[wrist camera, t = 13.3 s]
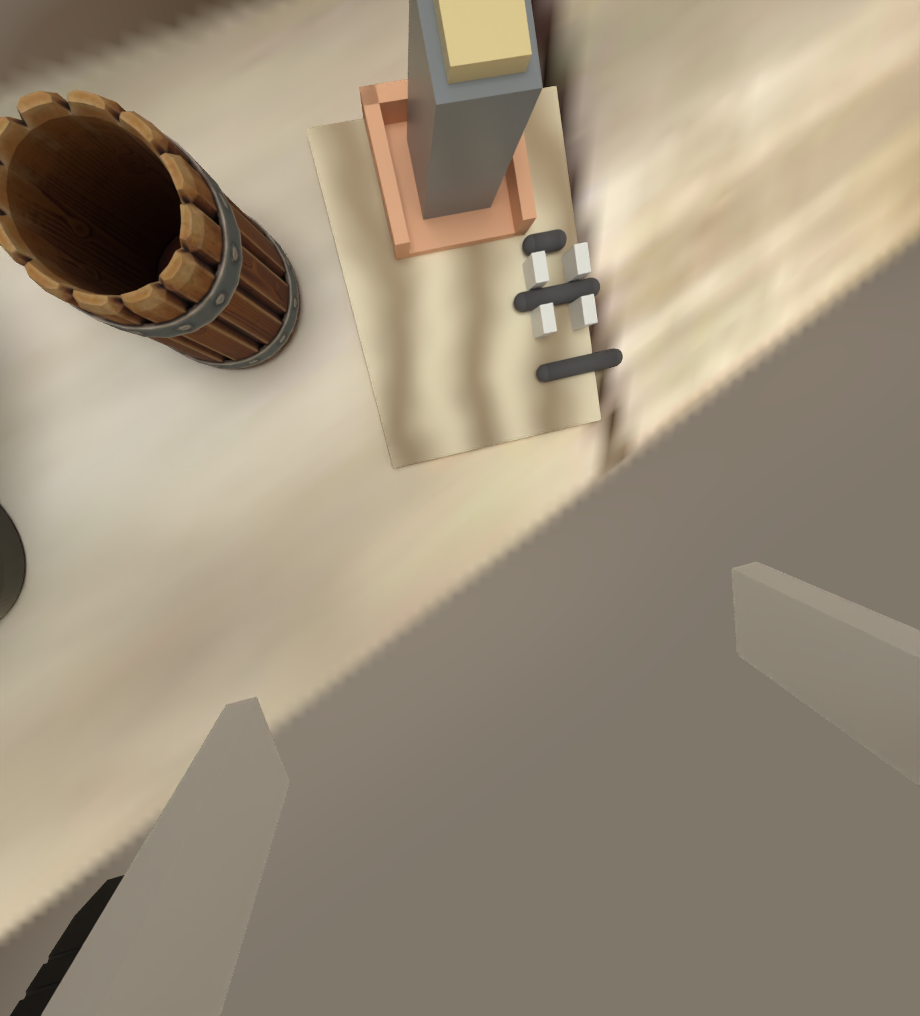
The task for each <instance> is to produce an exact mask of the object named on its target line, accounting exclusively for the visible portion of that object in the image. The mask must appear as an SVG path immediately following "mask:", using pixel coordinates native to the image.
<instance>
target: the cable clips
mask: <svg viewBox="0 0 920 1016" xmlns="http://www.w3.org/2000/svg"><path fill="white" fill-rule="evenodd" d="M562 263H563V270H564V277H565V283H568V282H573V281H578V280H581V279H582V278H584V277H585V276H586V275H588V274H589V273H590V272H591V268H590V260H589V252H588V244H587V242H585V243H580V244H575V245H573V246H572V247H571V248H570V249H569V250H568V251H567V252H566V253H565V254H564V255H563V256H562ZM522 267H523V274H524V280H525V286H526V291H529V290H534V289H539V288H542V287H543V286H544V285H545V284H546V283H547V282H548V281H549V274H548V268H547V261H546V255H545V251H540V252H535V253H531V254H530V256H529V257H528V258H527V259H526V260H525V262H524V263H523V264H522ZM569 312H570V319H571V326H572V331H574V330H579V329H583V328H586V327H588V326H590V325H593V324H595V323H597V314H596V306H595V299H594V294H591V295H586V296H581V297H580V298H578V299H576V300H575V301H573V302H572V303H570V304H569ZM530 316H531V322H532V328H533V334H534V339H537V338H542V337H546V336H548V335H550V334H552V333H554V332H556V331H557V327H556V321H555V314H554V307H553V303H548V304H543V305H539V306H538V307H537V308H535V309H534V310H533V311H532V312H530Z"/></svg>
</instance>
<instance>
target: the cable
mask: <svg viewBox="0 0 920 1016" xmlns="http://www.w3.org/2000/svg"><path fill="white" fill-rule="evenodd" d="M566 241H567V236H566V234H565V232H564V231H563V230H561V229H556V230H551V231H545V232H540V233H535V234H531V235H528V236H527V237H526V238H525V239H524V241H523V244H522V248H523V251H524V253H525V254H526V255H528V256H530V254H531V253H535V252H540V251H545V253H550V252H554V251H559V250H561V249H562V248H563V247H564V246H565V244H566ZM599 290H600V284H599V281H598V280H597V279H595V278H587V279H583V280H578V281H573V282H568V283H563V284H558V285H554V286H549V287H544V288H539V289H534V290H529V291H525V292H520V293H518V294H517V295H516V296H515V298H514V307H515V309H516V310H517V311H519V312H526V311H531V310H534V309H535V308H537V307H538V306H539V305H543V304H548V303H553V306H555V305H559V304H564V303H569V302H573V301H575V300H576V299H578V298H580V297H581V296H586V295H591V294H594V296H596V295H597V294H598V292H599ZM622 358H623V356H622V353H621V351H620V350H618V349H609V350H605V351H600V352H596V353H591V354H587V355H582V356H578V357H573V358H569V359H564V360H560V361H555V362H551V363H546V364H542V365H540V366H539V367H538V369H537V372H536V375H537V378H538V379H539V380H540V381H542V382H548V381H553V380H557V379H562V378H566V377H571V376H575V375H579V374H584V373H588V372H593V371H597V370H602V369H606V368H611V367H615V366H617V365H619V364H620V363H621V361H622Z"/></svg>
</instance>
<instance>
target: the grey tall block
mask: <svg viewBox="0 0 920 1016" xmlns="http://www.w3.org/2000/svg"><path fill="white" fill-rule="evenodd" d="M542 88H543V87H542V79H541V72H540V65H539V57H538V50H537V42H536V35H535V28H534V20H533V13H532V5H531V0H409V47H408V100H407V143H408V148H409V153H410V158H411V163H412V167H413V172H414V177H415V182H416V187H417V192H418V197H419V202H420V207H421V212H422V217H423V220H425V219H431V218H436V217H442V216H447V215H453V214H458V213H464V212H469V211H475V210H480V209H486V208H490V207H491V205H492V203H493V201H494V198H495V196H496V194H497V191H498V189H499V187H500V185H501V182H502V180H503V178H504V175H505V173H506V171H507V168H508V166H509V164H510V162H511V159H512V157H513V155H514V152H515V150H516V148H517V146H518V143H519V141H520V139H521V136H522V134H523V132H524V129H525V127H526V125H527V123H528V120H529V118H530V116H531V113H532V111H533V109H534V107H535V104H536V102H537V100H538V97H539V95H540V93H541V90H542Z"/></svg>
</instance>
